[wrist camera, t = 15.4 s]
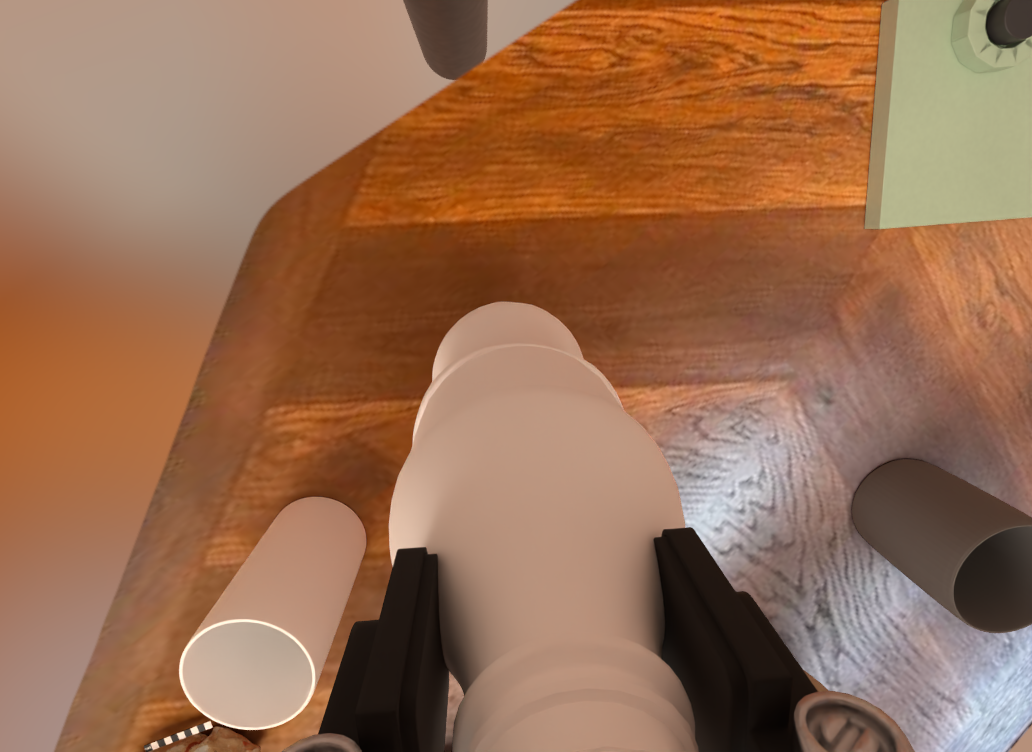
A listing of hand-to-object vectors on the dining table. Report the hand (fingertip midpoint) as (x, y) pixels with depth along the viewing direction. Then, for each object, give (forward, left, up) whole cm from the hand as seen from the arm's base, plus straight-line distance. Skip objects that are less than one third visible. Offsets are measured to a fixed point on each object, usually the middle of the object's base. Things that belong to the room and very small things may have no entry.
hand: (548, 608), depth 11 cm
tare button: (-18, +37, -34) cm, 53 cm away
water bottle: (0, 0, -20) cm, 20 cm away
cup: (+18, -17, -37) cm, 45 cm away
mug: (+21, +37, -37) cm, 56 cm away
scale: (-13, +37, -37) cm, 54 cm away
